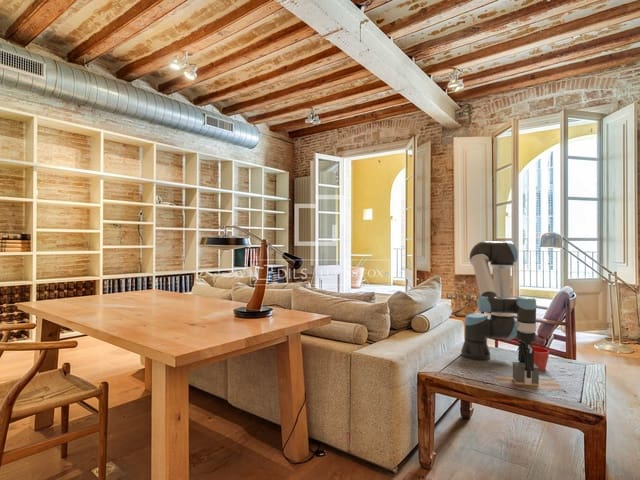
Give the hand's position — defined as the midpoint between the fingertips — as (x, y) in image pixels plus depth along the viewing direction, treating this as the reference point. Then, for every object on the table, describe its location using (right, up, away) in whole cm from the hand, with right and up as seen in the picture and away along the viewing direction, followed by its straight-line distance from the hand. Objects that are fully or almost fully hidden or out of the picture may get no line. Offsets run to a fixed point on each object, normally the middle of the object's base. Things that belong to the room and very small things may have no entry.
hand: (525, 381), depth 168 cm
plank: (+1, -1, 0) cm, 2 cm away
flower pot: (+18, -1, +21) cm, 28 cm away
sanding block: (0, 0, 0) cm, 0 cm away
